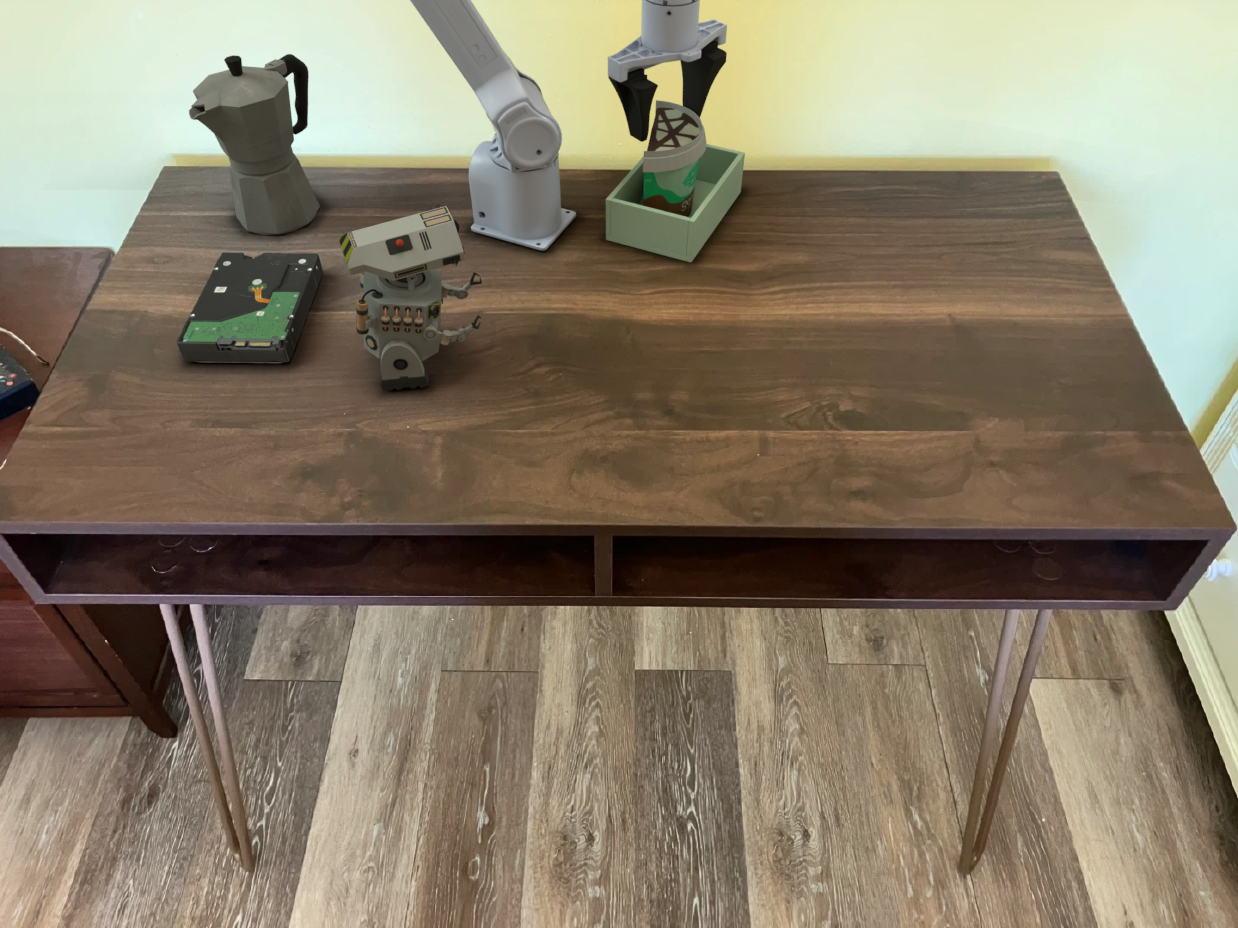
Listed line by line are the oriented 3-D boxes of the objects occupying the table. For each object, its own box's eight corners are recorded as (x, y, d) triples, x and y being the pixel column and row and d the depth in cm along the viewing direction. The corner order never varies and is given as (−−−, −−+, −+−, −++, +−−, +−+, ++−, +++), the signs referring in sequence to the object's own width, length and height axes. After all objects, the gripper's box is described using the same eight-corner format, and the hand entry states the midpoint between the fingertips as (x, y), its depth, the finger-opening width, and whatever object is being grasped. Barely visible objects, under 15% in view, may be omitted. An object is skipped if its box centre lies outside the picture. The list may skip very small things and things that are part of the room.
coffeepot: (265, 254, 101) (213, 93, 88) (205, 229, 105) (146, 70, 92) (362, 190, 110) (328, 35, 97) (304, 168, 114) (263, 16, 101)
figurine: (490, 383, 88) (472, 247, 77) (365, 394, 86) (329, 257, 75) (487, 323, 94) (470, 188, 83) (370, 332, 93) (337, 197, 82)
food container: (697, 242, 102) (703, 157, 95) (641, 237, 103) (643, 153, 96) (705, 182, 111) (711, 101, 103) (654, 179, 111) (656, 97, 104)
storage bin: (605, 239, 104) (605, 199, 100) (661, 172, 113) (663, 133, 110) (691, 262, 101) (694, 221, 97) (740, 192, 110) (745, 152, 107)
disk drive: (227, 274, 99) (183, 365, 89) (219, 251, 97) (173, 342, 87) (325, 274, 99) (292, 364, 89) (319, 251, 97) (285, 341, 87)
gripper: (641, 27, 86) (638, 162, 96) (752, -12, 92) (739, 119, 102) (593, 3, 90) (595, 136, 100) (703, -32, 96) (695, 96, 106)
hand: (665, 126), depth 101 cm, fingers open, 7 cm apart
